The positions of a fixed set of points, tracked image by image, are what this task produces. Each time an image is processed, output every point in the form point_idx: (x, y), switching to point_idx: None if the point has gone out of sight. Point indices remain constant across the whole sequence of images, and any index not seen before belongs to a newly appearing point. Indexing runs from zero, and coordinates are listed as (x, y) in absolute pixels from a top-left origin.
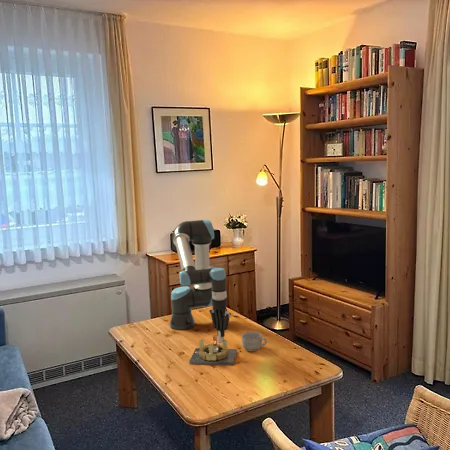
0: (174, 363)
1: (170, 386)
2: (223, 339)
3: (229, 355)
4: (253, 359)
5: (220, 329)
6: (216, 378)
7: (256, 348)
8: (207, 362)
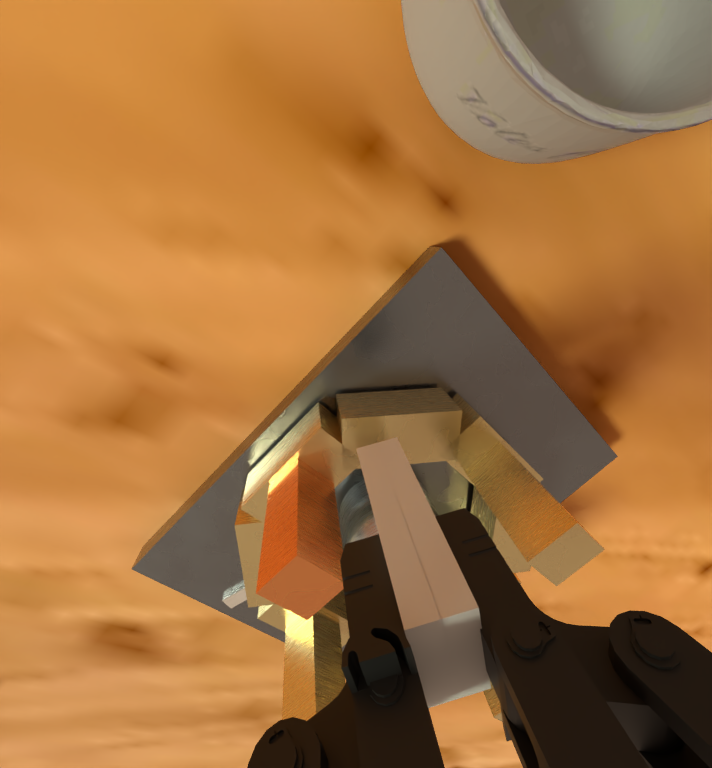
0: (273, 708)
1: (496, 761)
2: (410, 467)
3: (502, 410)
4: (682, 235)
5: (526, 742)
6: (623, 598)
7: (669, 37)
8: None
